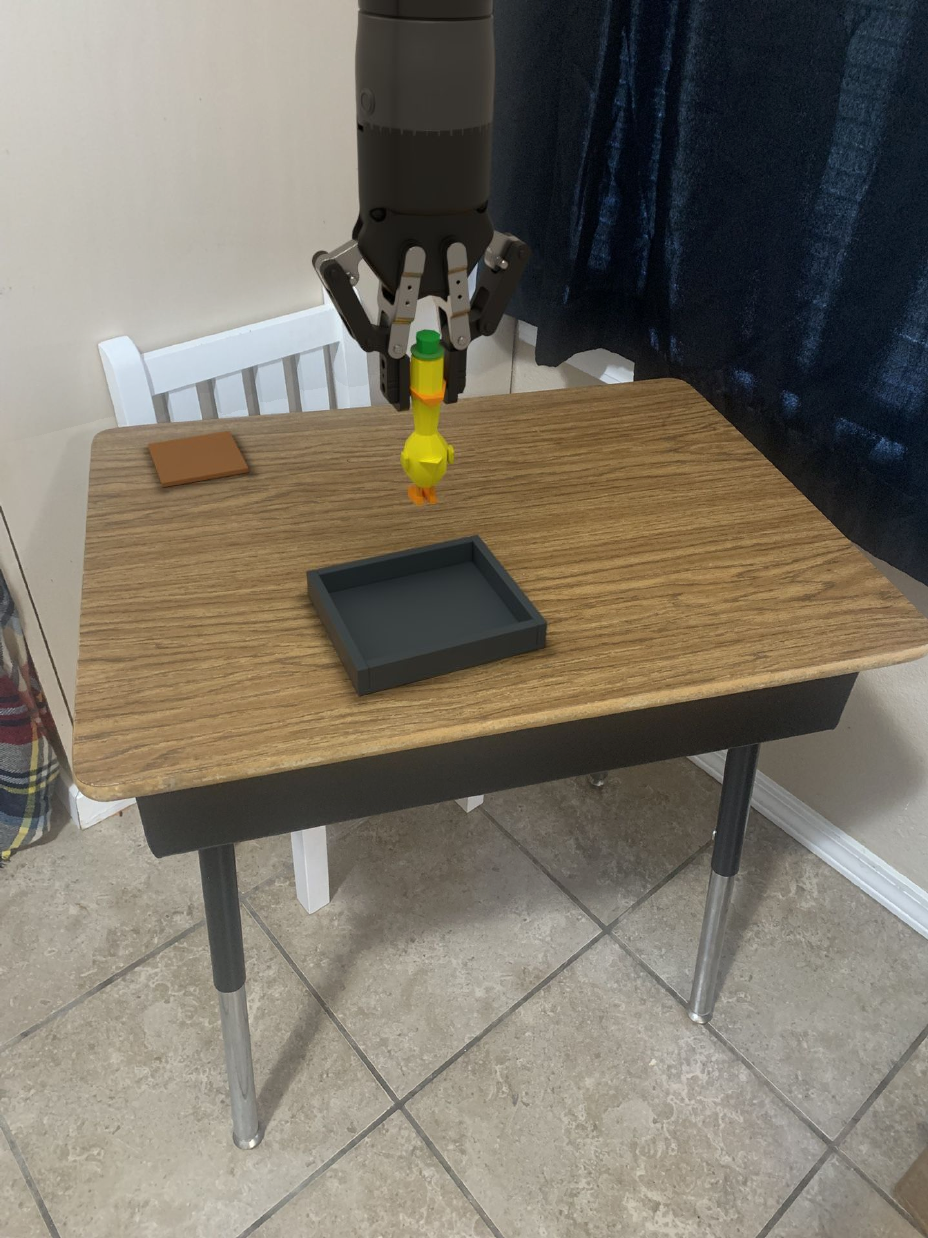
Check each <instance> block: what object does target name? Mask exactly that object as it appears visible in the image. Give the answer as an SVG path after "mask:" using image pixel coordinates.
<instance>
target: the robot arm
mask: <svg viewBox="0 0 928 1238" xmlns="http://www.w3.org/2000/svg"><path fill="white" fill-rule="evenodd" d="M357 8H358V9H359V10H357V27H356V28H357V29H356V40H355V48H354V49H355V51H354V84H355V85H354V87H355V90H354V91H355V92H354V93H355V122H356V153H357V186H358V191H357V193H358V205H359V210H358V216H357V219H356V221H355V224H354V226H353V228H352V232H351V239H350V240H348V241H346V242H345V243H343V244H341V245H340V246H338V247H336V248H335V249H333V250H332V251H330V252H328V251H326V250H321V249H320V250H318V251H316V252H315V253H314V254H313V255H312V257H311V265H312V268H313V269H314V271H315V273H316V275H317V276H318V278H319V280H320V282H321V284H322V286H323V288H324V289H325V291H326V293H327V295H328V298H329V299H330V301H331V303H332V305H333V306H334V308H335V310H336V312H337V314H338V317H339V318H340V321H341V322H342V323H343V325H344V327H345V329H346V331H347V333H348V334H349V336H350V337H351V338H352V339H353V340H354V341H355V342H356V343H357V344H358V347H359V348H360V349H361V350H362V351H363V352H364V353H373V352H376V353H378V354H379V355H378V356H379V357H378V358H379V390H380V393H381V394H382V396H383V398H384V399H385V400H386V401H387V402H388V403H389V405H391V406H392V407H393V408H394V409H395V410H396V412H397V413H400V412H401V413H402V412H408V411H410V409H411V396H410V362H411V356H409V355H408V354H407V351H408V345H409V338H410V332H411V331H410V330H411V324H412V323H413V322H414V321H415V320H416V313H417V305H418V301H419V300H421V299H424V298H427V297H429V296H431V298H432V301H433V303H434V305H435V313H436V321H437V328H438V333H439V334H441V335H440V341H439V345H441V346H442V347H443V348H444V366H443V379H444V380H445V381H446V386H445V393H444V400H443V401H442V402H443V404H445V405H451V404H452V405H453V404H457V403H458V401H459V395H461V394H464V391H465V389H466V386H467V366H468V365H467V363H468V362H467V361H468V349H469V346H470V344H472V342H473V341H474V340H476V339H478V338H480V337H491V336H492V335H494V334H495V333H496V331H497V329H498V327H499V325H500V323H501V320H502V319H503V316H504V314H505V312H506V310H507V308H508V306H509V304H510V302H511V299H512V297H513V296H514V294H515V291H516V289H517V287H518V284H519V282H520V280H521V278H522V276H523V274H524V271H525V269H526V267H527V265H528V263H529V261H530V259H531V256H532V249H531V246H529V245H528V244H527V243H525V242H524V241H522V240H521V239H519V238H518V237H517V236H515V235H513V233H511V232H499V231H498V230H495V226H494V225H495V224H494V223H493V220H492V218H491V216H490V213H489V207H488V206H489V199H490V197H491V181H492V180H491V179H492V159H493V158H492V157H493V139H494V115H495V106H496V103H497V89H496V76H497V75H496V74H497V70H496V69H497V60H496V59H497V58H496V43H495V30H494V29H495V27H494V22H495V21H494V15H493V14H494V12H495V0H357ZM483 256H484V258H483ZM482 258H483V259H484V263H485V267H484V269H483V271H482V273H481V275H480V277H479V280H478V281H477V284H476V286H475V288H474V291H473V293H472V295H471V298H470V290H469V280H468V278H469V277H470V276H471V274H472V272H473V271H474V269H475V268H476V266H477V265H478V263H479V262H480V260H481V259H482ZM362 260H363V261H364V263H366V265H367V266H368V268H369V269H370V271H372V273H373V274H374V276H375V277H376V278H377V279H378V287H377V294H376V303H377V307H378V311H377V312H378V313H377V320H376V324H374V323H371V320H370V318H369V317H368V315H367V313H366V310H365V309H364V307H363V304H362V303H361V301H360V299H359V296H358V295H357V293H356V291H355V288H354V287H355V286H357V284H358V283H359V281H360V273H359V264H360V262H361V261H362Z"/></svg>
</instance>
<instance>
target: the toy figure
mask: <svg viewBox="0 0 928 1238" xmlns="http://www.w3.org/2000/svg"><path fill="white" fill-rule="evenodd" d="M440 339H441V334H440V332H439V331H436V330H434V329H427V328H424V329H421V330H419V331H416V333H415V343H413V344H412V345H411V346H410V348H409V351H410V353H411V356H410V402H411V409H412V416H413V426H414V431H413V432H412V433H411V434H410V435H409V436H408V438H407V439H406V440H405V441H404V442H405V443H404V447H403V451H402V452H400V458H399V461H400V465H401V468H402V470H403V471H404V473H405V474H406V475H407V476H408V478H409V479H410V481H411V482H412V483H413V484H411V485H409V486H408V487H407V497H408V499H409V500H410V501H411V502H412V503H414V505H416V506H417V507H419V506H424V505H425V501H426V502H427V503H428V504H429V505H434V504H437V503H438V499H437V493H436V492H437V491H436V485H438V484H439V482H440V481H441V480H442V478H443V477H444V476H445V475H446V473H447V468H448V464H449V465H454V463H455V454H456V452H455V450H454V447H453V445H452V444H450V445H449V443H448V442H447V441H446V439H445V438H444V437H443V436H442V434H441V433H440V431H439V430H438V426H439V419H440V413H441V407H442V402H443V400H444V393H445V386H446V381H445V380H444V379H443V366H444V348H443V347H442V346H441V345H439V341H440Z"/></svg>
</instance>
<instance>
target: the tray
mask: <svg viewBox="0 0 928 1238" xmlns="http://www.w3.org/2000/svg"><path fill="white" fill-rule="evenodd" d="M305 573H306V575H305V577H306V587H307V596H308V599H309V600H310V602H311V605H312V606H313V608H314V610H315V612H316V615H317V616H318V618H319V620H320V622H321V624H322V626H323V628H324V630H325V632H326V634H327V636H328V639H330V642H331V644H332V646H333V648H334V650H335V652H336V654H337V656H338V657H339V660H340V662H341V664H342V665H343V668H344V669H345V671H346V673H347V675H348V677H349V680H350V681H351V684H352V685H353V687H354V689H355V692H356V693H357V696H359V697H362V696H366V695H369V694H373V693H377V692H380V691H384V690H388V689H392V688H395V687H400V686H403V685H407V684H412V683H415V682H419V681H423V680H427V679H430V678H434V677H438V676H442V675H445V674H449V673H453V672H457V671H461V670H465V669H468V668H472V667H475V666H479V665H484V664H487V663H491V662H494V661H495V662H496V661H500V660H502V659H506V658H511V657H514V656H518V655H523V654H525V653H530V652H533V651H537V650H542V649H545V648H546V642H547V641H546V639H547V631H548V621H547V620H546V618H545V617H544V616H543V615H542V613H540V611H539V610H538V609H537V607H536V606H535V605H534V603H533V602H532V601H531V600H530V598H529V597H528V596H527V595H526V593H525V592H524V591H523V590H522V588H521V587H520V586H519V585H518V583H517V582H516V581H515V580H514V578H513V577H512V576H511V575H510V573H509V572H508V570H506V568H505V567H504V566H503V565H502V563H501V562H500V560H499V559H498V558H497V557H496V556H495V554H494V553H493V552H492V550H491V549H490V548H489V547H488V545H487V544H486V543H485V542H484V541H483V539H482V537H480V535H479V534H474V535H470V536H464V537H459V538H455V539H450V540H446V541H440V542H436V543H432V544H427V545H421V546H418V547H413V548H407V549H403V550H398V551H395V552H389V553H386V554H385V553H384V554H381V555H375V556H371V557H366V558H361V559H357V560H352V561H347V562H343V563H339V564H333V565H328V566H324V567H319V568H316V569H315V568H314V569H310V570H306V571H305Z"/></svg>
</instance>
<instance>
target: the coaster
mask: <svg viewBox="0 0 928 1238" xmlns="http://www.w3.org/2000/svg"><path fill="white" fill-rule="evenodd" d="M147 449H148V452H149V454H150V457H151V460H152V463H153V466H154V468H155V470H156V473H157V477H158V479H159V482H160V483H161V484H160V485H161V487H162V488H167V487H173V486H174V487H175V486H179V485H186V484H190V483H196V482H202V481H207V480H214V479H218V478H225V477H229V476H236V475H241V474H247V473H249V472H250V469H249V466H248V464H247V463H246V461H245V458H244V457H243V455H242V453H241V451H240V449H239V447H238V445H237V443H236V441H235V439H234V436H233V435H232V433H231V431H230V430H226V431H220V432H214V433H213V432H212V433H207V434H200V435H195V436H188V437H183V438H177V439H170V440H164V441H157V442H152V443H147Z"/></svg>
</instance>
